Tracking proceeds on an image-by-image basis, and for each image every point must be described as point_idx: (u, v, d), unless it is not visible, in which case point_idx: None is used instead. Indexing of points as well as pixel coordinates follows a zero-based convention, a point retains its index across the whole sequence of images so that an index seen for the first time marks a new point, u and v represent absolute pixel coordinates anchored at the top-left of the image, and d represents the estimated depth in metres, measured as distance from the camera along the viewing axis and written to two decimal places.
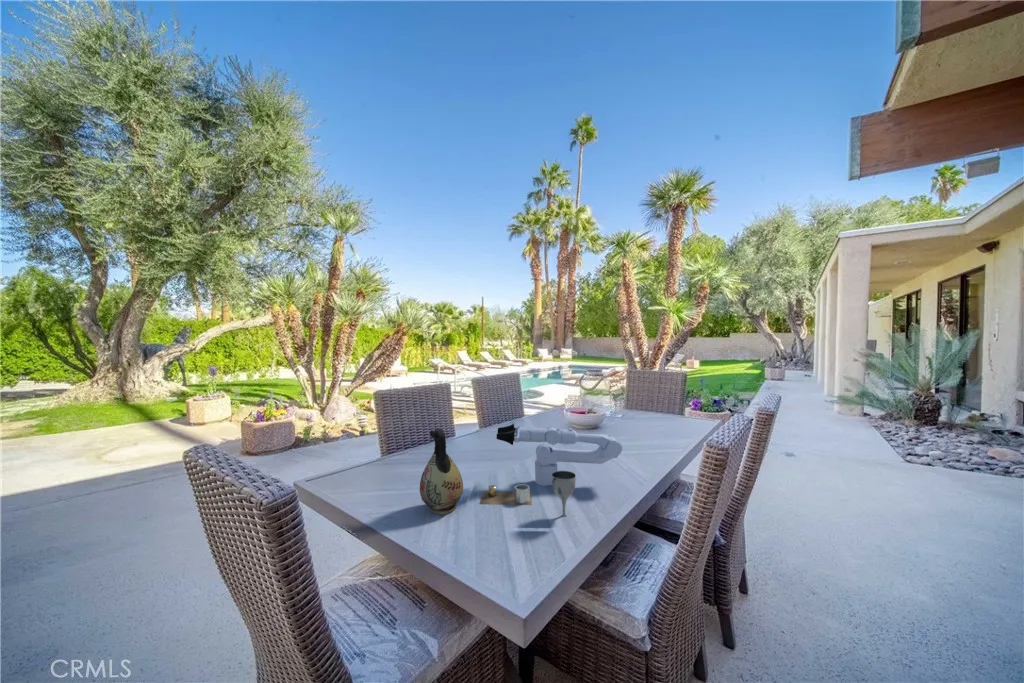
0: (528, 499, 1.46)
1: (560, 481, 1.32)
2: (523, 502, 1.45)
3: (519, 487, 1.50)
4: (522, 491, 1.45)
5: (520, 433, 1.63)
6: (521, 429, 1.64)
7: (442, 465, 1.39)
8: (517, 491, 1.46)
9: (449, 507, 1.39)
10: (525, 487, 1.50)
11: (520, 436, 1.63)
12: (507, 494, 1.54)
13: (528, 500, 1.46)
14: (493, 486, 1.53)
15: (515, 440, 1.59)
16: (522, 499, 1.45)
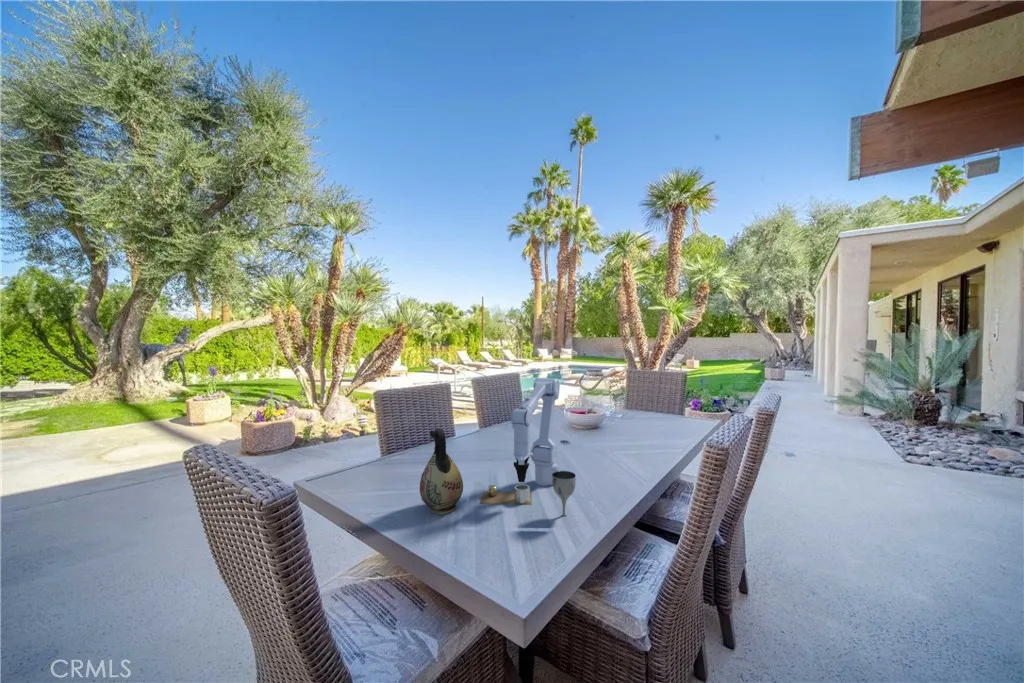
0: (528, 499, 1.46)
1: (560, 481, 1.32)
2: (523, 502, 1.45)
3: (519, 487, 1.50)
4: (522, 491, 1.45)
5: None
6: None
7: (442, 465, 1.39)
8: (517, 491, 1.46)
9: (449, 507, 1.39)
10: (525, 487, 1.50)
11: None
12: (507, 494, 1.54)
13: (528, 500, 1.46)
14: (493, 486, 1.53)
15: None
16: (522, 499, 1.45)
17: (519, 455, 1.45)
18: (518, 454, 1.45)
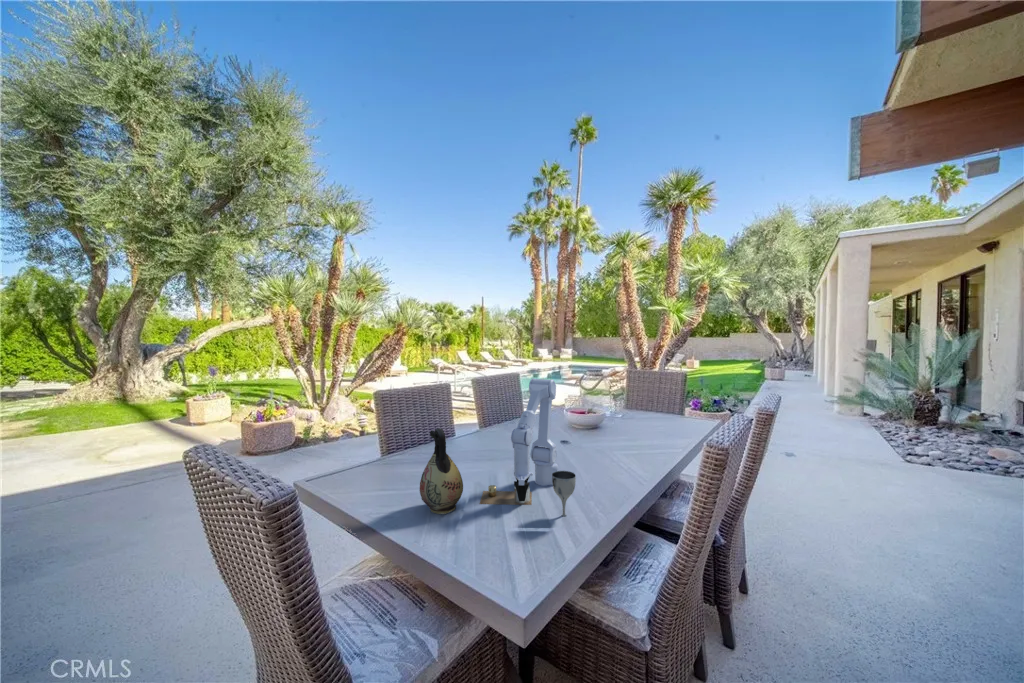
0: (528, 499, 1.46)
1: (560, 481, 1.32)
2: (523, 502, 1.45)
3: None
4: None
5: None
6: None
7: (442, 465, 1.39)
8: None
9: (449, 507, 1.39)
10: None
11: None
12: (507, 494, 1.54)
13: (528, 500, 1.46)
14: (493, 486, 1.53)
15: None
16: None
17: (519, 475, 1.45)
18: (518, 474, 1.45)
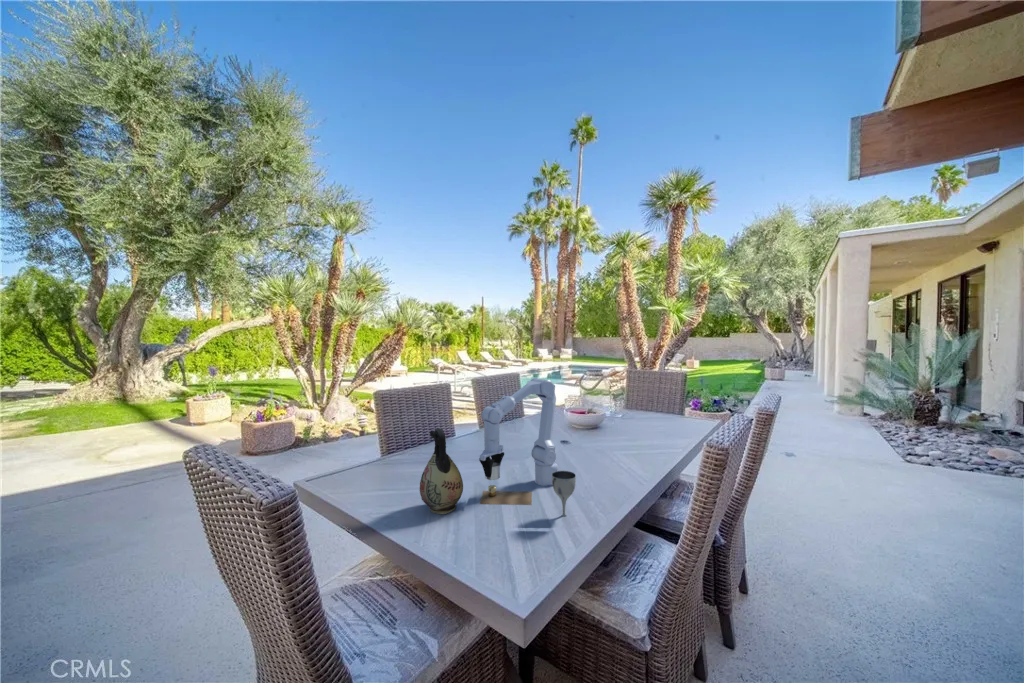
0: (495, 476, 1.50)
1: (560, 481, 1.32)
2: (490, 478, 1.50)
3: None
4: None
5: None
6: None
7: (442, 465, 1.39)
8: None
9: (449, 507, 1.39)
10: (497, 465, 1.53)
11: None
12: (507, 494, 1.54)
13: (495, 477, 1.50)
14: (493, 486, 1.53)
15: None
16: None
17: (486, 451, 1.50)
18: (485, 450, 1.50)
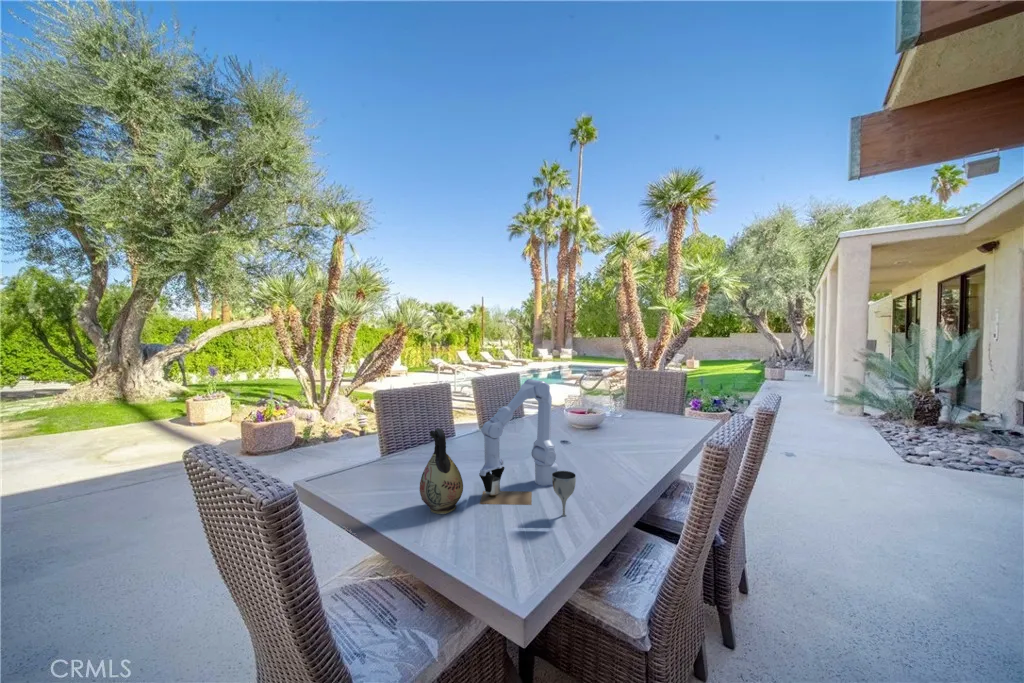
0: (495, 491, 1.50)
1: (560, 481, 1.32)
2: (490, 493, 1.50)
3: None
4: None
5: None
6: (499, 462, 1.52)
7: (442, 465, 1.39)
8: None
9: (449, 507, 1.39)
10: (497, 479, 1.54)
11: None
12: (507, 494, 1.54)
13: (495, 492, 1.50)
14: None
15: None
16: None
17: (486, 466, 1.50)
18: (486, 465, 1.51)
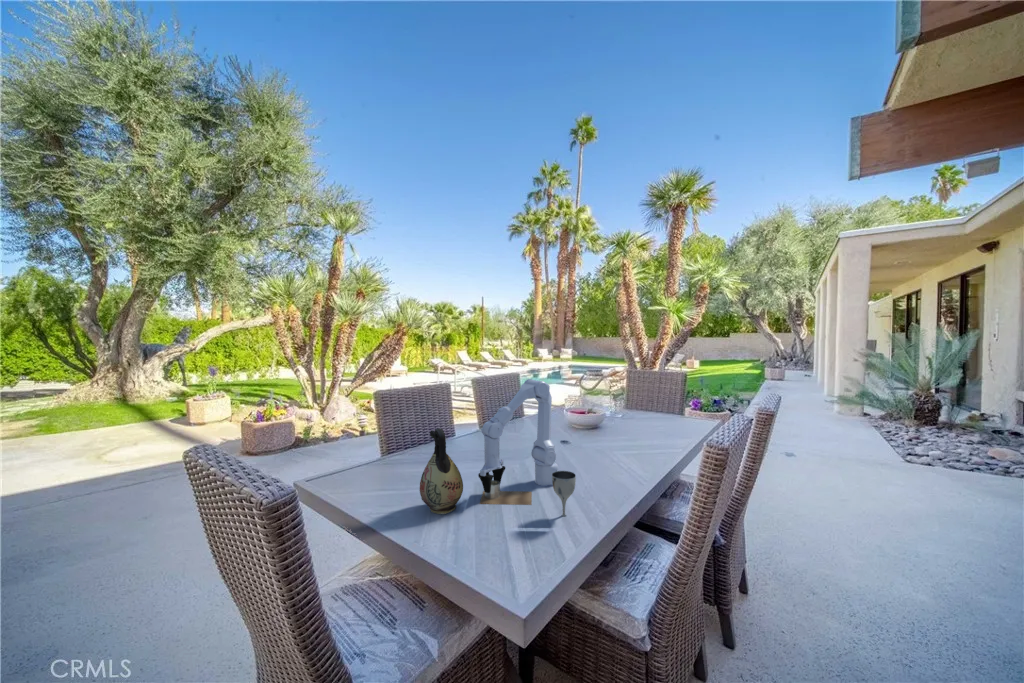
0: (495, 495, 1.50)
1: (560, 481, 1.32)
2: (490, 497, 1.50)
3: (492, 482, 1.55)
4: None
5: None
6: (499, 462, 1.52)
7: (442, 465, 1.39)
8: None
9: (449, 507, 1.39)
10: (497, 483, 1.54)
11: None
12: (507, 494, 1.54)
13: (495, 496, 1.50)
14: None
15: None
16: (489, 494, 1.50)
17: (486, 466, 1.50)
18: (486, 465, 1.51)
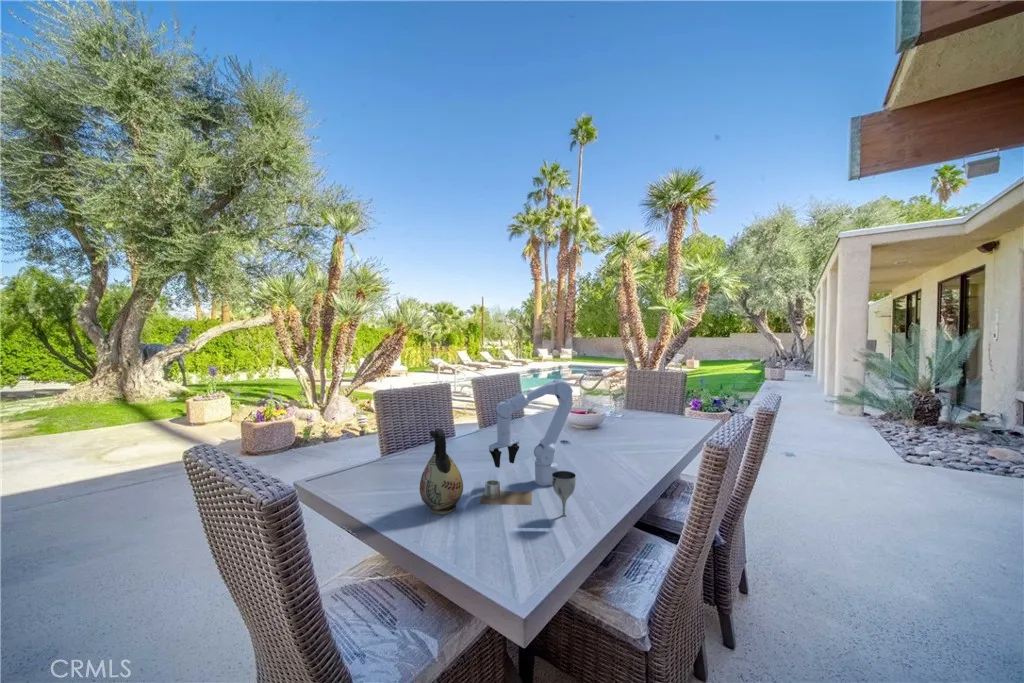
0: (495, 495, 1.50)
1: (560, 481, 1.32)
2: (490, 497, 1.50)
3: (492, 482, 1.55)
4: (489, 486, 1.50)
5: None
6: (510, 441, 1.62)
7: (442, 465, 1.39)
8: (485, 486, 1.51)
9: (449, 507, 1.39)
10: (497, 483, 1.54)
11: None
12: (507, 494, 1.54)
13: (495, 496, 1.50)
14: None
15: None
16: (489, 494, 1.50)
17: (497, 443, 1.61)
18: (497, 442, 1.62)
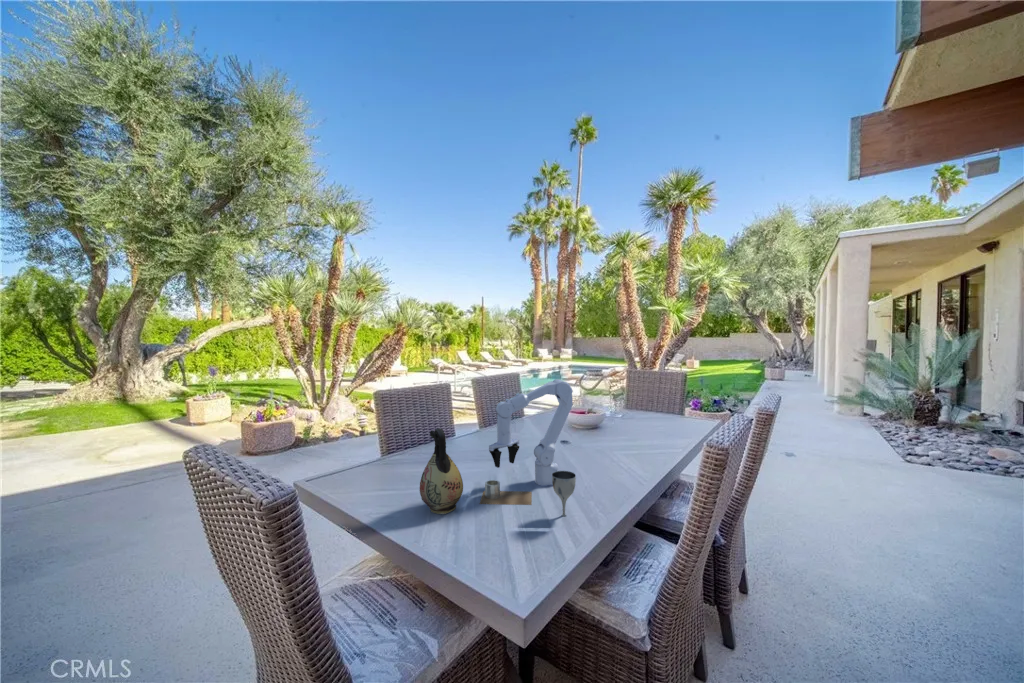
0: (495, 495, 1.50)
1: (560, 481, 1.32)
2: (490, 497, 1.50)
3: (492, 482, 1.55)
4: (489, 486, 1.50)
5: None
6: (510, 441, 1.62)
7: (442, 465, 1.39)
8: (485, 486, 1.51)
9: (449, 507, 1.39)
10: (497, 483, 1.54)
11: None
12: (507, 494, 1.54)
13: (495, 496, 1.50)
14: None
15: None
16: (489, 494, 1.50)
17: (497, 443, 1.61)
18: (497, 442, 1.62)
